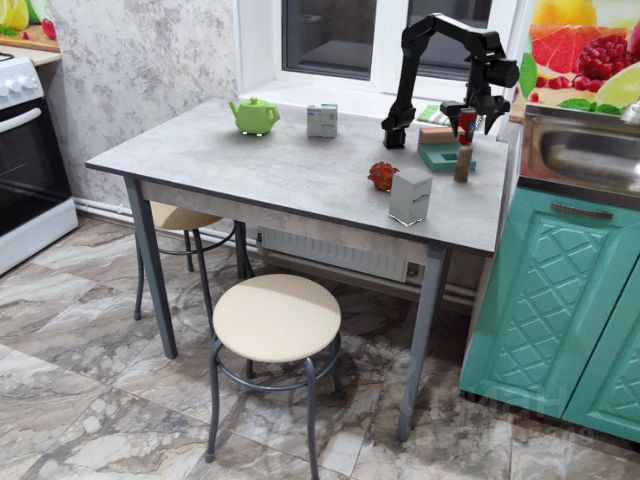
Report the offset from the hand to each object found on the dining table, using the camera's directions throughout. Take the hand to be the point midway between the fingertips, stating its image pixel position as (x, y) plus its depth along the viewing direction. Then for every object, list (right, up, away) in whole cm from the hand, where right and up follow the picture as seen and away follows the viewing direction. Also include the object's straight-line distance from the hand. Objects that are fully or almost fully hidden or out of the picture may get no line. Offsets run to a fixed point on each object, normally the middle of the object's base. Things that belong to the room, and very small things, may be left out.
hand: (470, 136), depth 138 cm
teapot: (-68, +10, +39) cm, 79 cm away
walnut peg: (-1, -12, +7) cm, 14 cm away
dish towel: (+8, +17, +52) cm, 55 cm away
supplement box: (-20, -24, -11) cm, 34 cm away
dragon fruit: (-24, -15, +3) cm, 29 cm away
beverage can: (+7, +4, +31) cm, 33 cm away
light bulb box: (-43, +9, +38) cm, 58 cm away
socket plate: (-2, -4, +19) cm, 19 cm away
